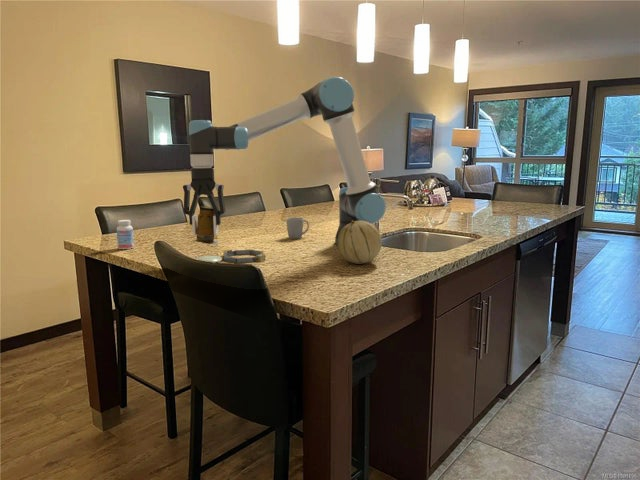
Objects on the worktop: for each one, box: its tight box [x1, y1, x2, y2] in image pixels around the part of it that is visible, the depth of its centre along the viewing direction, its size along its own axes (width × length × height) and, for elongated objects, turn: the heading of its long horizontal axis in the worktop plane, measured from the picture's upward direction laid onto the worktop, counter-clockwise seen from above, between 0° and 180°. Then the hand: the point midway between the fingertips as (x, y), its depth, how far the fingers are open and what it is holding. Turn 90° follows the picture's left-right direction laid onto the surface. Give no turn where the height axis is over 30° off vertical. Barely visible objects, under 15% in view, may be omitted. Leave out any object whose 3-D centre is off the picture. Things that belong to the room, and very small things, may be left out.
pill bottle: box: [116, 219, 135, 251], centre depth 189 cm, size 6×6×11 cm
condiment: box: [191, 205, 223, 245], centre depth 166 cm, size 7×8×12 cm
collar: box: [223, 248, 266, 264], centre depth 171 cm, size 18×14×2 cm
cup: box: [285, 217, 310, 240], centre depth 209 cm, size 8×10×8 cm
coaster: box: [194, 255, 223, 263], centre depth 168 cm, size 10×10×1 cm
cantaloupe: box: [337, 221, 383, 265], centre depth 161 cm, size 15×15×15 cm
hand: (205, 234), depth 166 cm, fingers closed on condiment, 7 cm apart
